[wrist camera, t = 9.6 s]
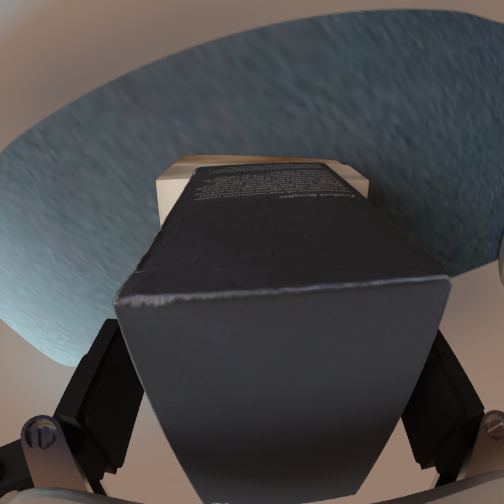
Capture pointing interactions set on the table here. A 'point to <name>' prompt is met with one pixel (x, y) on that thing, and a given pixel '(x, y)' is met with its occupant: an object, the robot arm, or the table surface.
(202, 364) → the small box
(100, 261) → the table surface
